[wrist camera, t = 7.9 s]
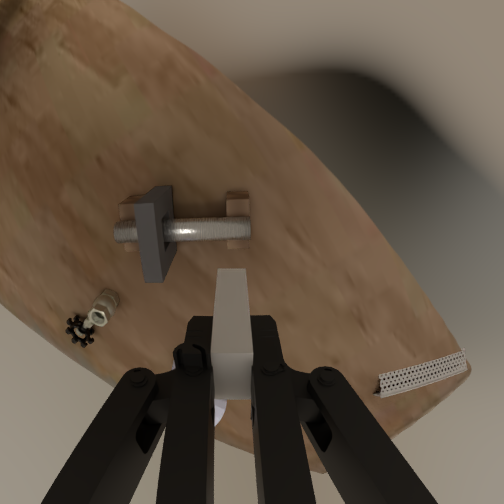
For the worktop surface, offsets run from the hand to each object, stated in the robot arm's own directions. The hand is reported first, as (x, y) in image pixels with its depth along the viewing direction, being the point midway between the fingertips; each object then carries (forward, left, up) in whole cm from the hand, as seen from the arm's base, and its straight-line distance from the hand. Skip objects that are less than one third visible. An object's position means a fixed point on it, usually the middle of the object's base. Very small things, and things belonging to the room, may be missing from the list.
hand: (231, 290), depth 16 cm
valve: (+21, -26, -29) cm, 44 cm away
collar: (+4, -10, -27) cm, 29 cm away
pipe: (+4, -7, -24) cm, 25 cm away
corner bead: (+46, +48, -30) cm, 73 cm away
